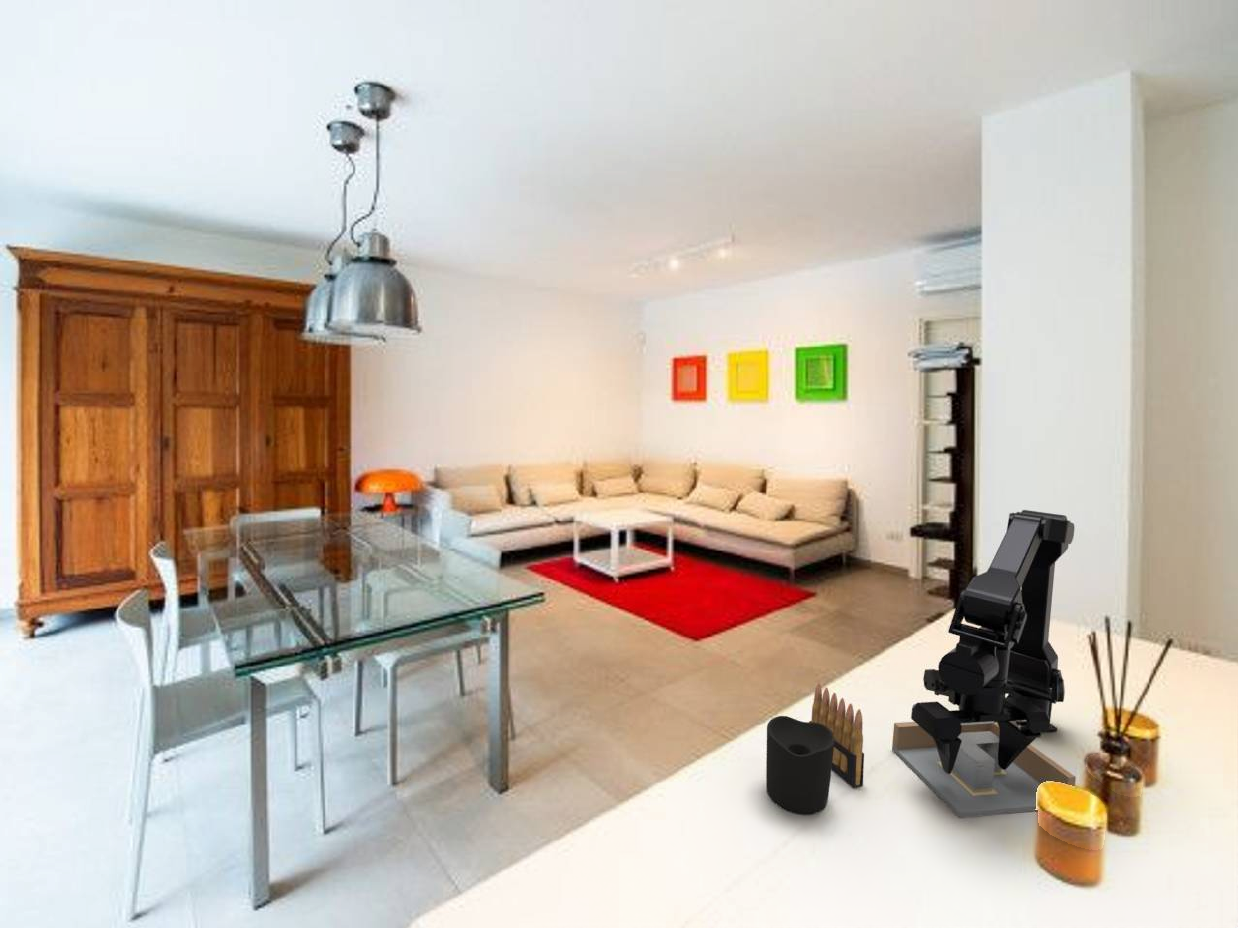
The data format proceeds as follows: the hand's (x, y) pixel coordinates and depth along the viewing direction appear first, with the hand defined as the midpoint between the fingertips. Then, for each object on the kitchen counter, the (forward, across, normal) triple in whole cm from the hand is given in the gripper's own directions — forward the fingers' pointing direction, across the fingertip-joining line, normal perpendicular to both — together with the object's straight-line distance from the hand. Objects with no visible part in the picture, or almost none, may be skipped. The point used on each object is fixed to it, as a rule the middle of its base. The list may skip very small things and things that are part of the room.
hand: (974, 769), depth 89 cm
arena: (+3, -2, -2) cm, 5 cm away
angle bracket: (+2, -2, -1) cm, 4 cm away
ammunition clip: (+3, +18, -8) cm, 20 cm away
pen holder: (+3, +28, -2) cm, 28 cm away
